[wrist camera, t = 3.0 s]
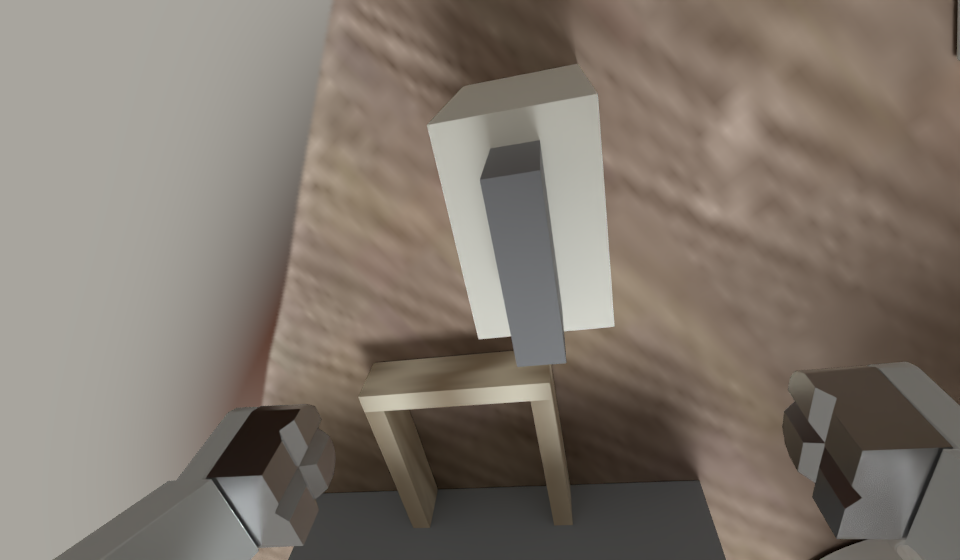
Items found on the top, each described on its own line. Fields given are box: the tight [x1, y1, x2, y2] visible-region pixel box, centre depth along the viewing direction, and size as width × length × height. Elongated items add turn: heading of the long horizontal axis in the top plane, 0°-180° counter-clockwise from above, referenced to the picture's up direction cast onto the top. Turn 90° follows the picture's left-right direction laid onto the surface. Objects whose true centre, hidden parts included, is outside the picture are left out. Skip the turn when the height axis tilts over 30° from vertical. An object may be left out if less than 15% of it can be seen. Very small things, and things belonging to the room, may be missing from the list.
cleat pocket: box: [358, 351, 573, 528], centre depth 30 cm, size 11×12×3 cm
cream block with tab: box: [427, 64, 614, 367], centre depth 18 cm, size 5×8×11 cm, turn 11°
